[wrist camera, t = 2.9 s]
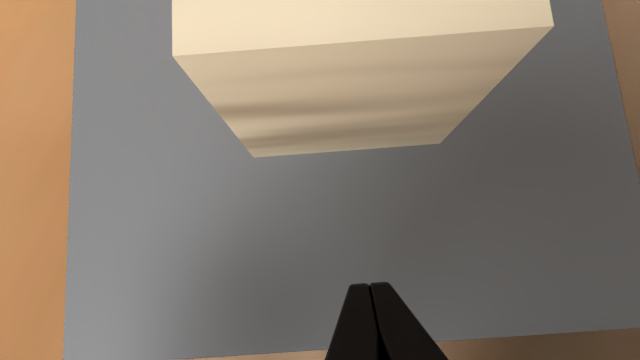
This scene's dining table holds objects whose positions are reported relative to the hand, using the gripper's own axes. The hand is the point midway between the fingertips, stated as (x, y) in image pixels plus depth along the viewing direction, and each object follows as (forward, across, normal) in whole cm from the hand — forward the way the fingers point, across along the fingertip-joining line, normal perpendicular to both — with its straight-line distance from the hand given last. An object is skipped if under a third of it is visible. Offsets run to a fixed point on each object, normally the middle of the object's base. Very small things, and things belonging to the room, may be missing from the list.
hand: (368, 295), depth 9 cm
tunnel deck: (+21, 0, -11) cm, 23 cm away
